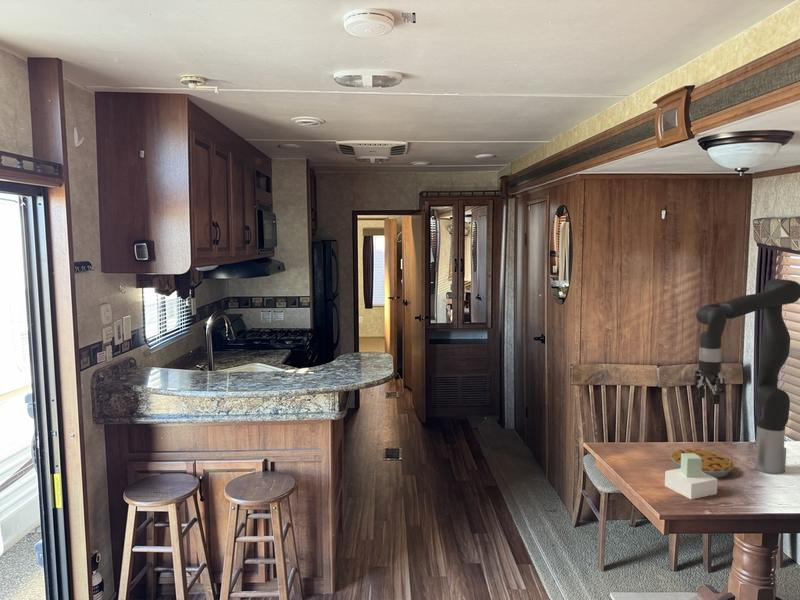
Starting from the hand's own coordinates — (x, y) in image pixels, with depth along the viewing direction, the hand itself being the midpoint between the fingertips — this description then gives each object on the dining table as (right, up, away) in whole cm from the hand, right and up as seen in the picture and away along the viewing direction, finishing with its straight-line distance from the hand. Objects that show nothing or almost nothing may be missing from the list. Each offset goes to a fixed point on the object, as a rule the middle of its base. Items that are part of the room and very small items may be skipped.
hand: (708, 400), depth 215 cm
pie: (+3, -29, +11) cm, 31 cm away
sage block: (-11, -25, -9) cm, 29 cm away
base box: (-11, -31, -8) cm, 34 cm away
